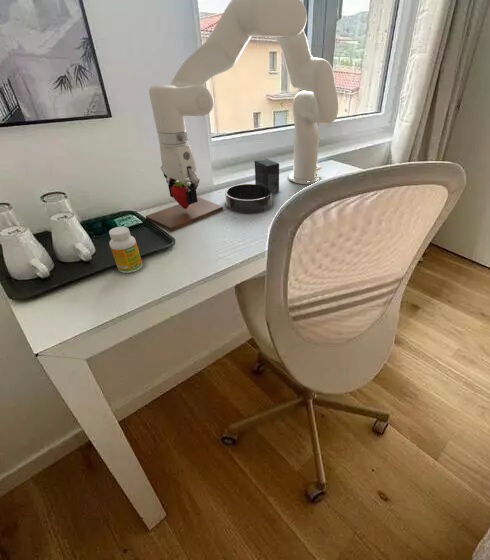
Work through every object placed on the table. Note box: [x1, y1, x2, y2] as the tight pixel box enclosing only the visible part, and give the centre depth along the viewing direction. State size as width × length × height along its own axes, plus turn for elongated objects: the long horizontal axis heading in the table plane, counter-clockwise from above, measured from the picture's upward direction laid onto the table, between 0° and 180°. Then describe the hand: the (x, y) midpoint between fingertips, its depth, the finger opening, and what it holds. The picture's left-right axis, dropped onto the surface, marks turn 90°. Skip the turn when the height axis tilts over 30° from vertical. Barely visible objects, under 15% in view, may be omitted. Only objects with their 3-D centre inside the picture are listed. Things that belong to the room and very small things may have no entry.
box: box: [254, 158, 280, 195], centre depth 117 cm, size 8×6×11 cm
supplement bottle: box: [108, 226, 143, 274], centre depth 73 cm, size 5×5×10 cm
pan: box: [224, 183, 273, 215], centre depth 108 cm, size 15×15×4 cm
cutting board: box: [145, 196, 224, 232], centre depth 100 cm, size 20×12×1 cm, turn 144°
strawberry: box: [171, 181, 191, 209], centre depth 96 cm, size 6×8×10 cm
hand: (183, 199), depth 97 cm, fingers closed on strawberry, 7 cm apart
